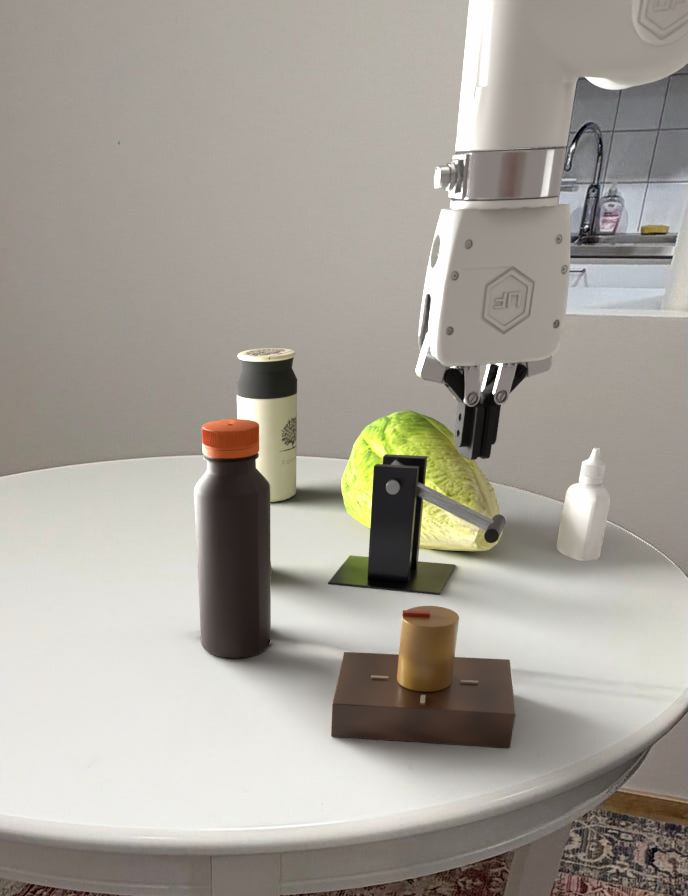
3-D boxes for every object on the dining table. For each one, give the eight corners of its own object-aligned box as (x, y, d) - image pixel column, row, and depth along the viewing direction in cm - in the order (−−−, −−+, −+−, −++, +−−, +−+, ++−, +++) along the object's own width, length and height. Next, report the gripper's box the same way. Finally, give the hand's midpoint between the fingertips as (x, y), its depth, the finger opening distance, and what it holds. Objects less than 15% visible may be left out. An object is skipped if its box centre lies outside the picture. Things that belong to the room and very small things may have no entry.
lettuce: (410, 593, 104) (455, 467, 96) (315, 506, 121) (346, 391, 112) (517, 597, 110) (568, 478, 102) (413, 513, 127) (449, 405, 118)
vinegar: (191, 639, 94) (179, 422, 83) (253, 626, 96) (250, 412, 84) (217, 665, 89) (208, 437, 77) (282, 651, 91) (283, 427, 79)
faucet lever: (498, 534, 99) (511, 513, 98) (491, 550, 96) (504, 528, 94) (387, 477, 100) (398, 456, 99) (376, 490, 97) (386, 468, 95)
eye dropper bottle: (556, 568, 106) (576, 454, 99) (554, 552, 110) (573, 441, 103) (598, 570, 105) (621, 455, 98) (594, 553, 109) (616, 442, 102)
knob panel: (505, 691, 82) (510, 657, 80) (510, 748, 74) (515, 712, 73) (342, 682, 85) (344, 649, 83) (330, 736, 77) (332, 701, 75)
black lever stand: (454, 575, 106) (468, 453, 98) (439, 604, 99) (452, 476, 91) (349, 565, 109) (354, 447, 102) (327, 593, 103) (331, 469, 95)
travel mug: (227, 496, 134) (223, 354, 124) (267, 484, 138) (266, 345, 128) (268, 507, 129) (267, 359, 119) (307, 494, 133) (310, 350, 123)
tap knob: (451, 669, 79) (459, 602, 76) (451, 693, 76) (459, 624, 72) (398, 667, 80) (403, 600, 77) (395, 690, 77) (400, 622, 73)
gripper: (422, 188, 64) (399, 474, 74) (632, 178, 65) (580, 459, 76) (388, 186, 70) (371, 451, 80) (580, 177, 71) (539, 438, 82)
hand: (473, 454), depth 78 cm, fingers closed
